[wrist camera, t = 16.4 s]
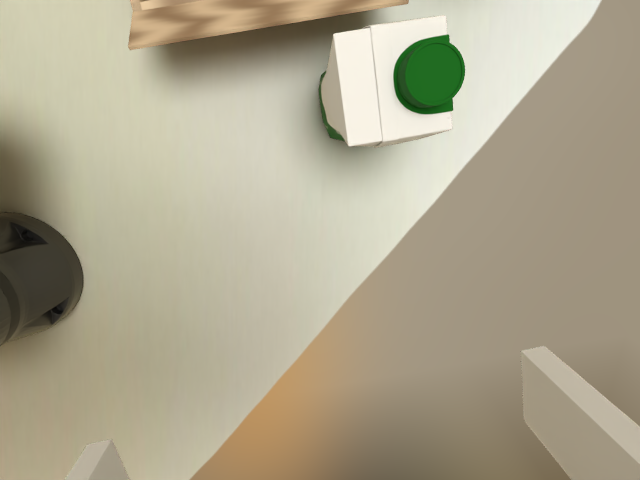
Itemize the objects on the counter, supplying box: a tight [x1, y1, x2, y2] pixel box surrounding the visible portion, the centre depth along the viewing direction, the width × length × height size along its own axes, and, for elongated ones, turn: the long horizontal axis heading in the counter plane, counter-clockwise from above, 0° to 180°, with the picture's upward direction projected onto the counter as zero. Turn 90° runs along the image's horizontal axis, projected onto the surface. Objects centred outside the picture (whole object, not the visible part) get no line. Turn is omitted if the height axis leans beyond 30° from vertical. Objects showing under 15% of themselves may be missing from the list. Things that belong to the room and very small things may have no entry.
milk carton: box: [319, 15, 465, 148], centre depth 34 cm, size 9×9×20 cm
